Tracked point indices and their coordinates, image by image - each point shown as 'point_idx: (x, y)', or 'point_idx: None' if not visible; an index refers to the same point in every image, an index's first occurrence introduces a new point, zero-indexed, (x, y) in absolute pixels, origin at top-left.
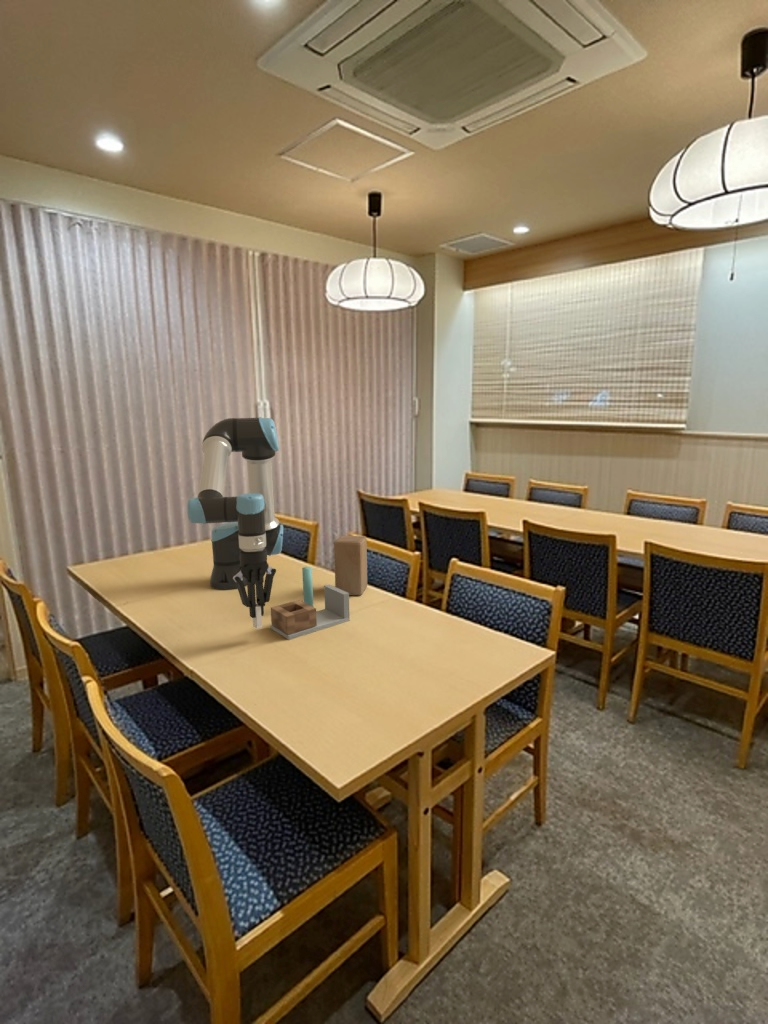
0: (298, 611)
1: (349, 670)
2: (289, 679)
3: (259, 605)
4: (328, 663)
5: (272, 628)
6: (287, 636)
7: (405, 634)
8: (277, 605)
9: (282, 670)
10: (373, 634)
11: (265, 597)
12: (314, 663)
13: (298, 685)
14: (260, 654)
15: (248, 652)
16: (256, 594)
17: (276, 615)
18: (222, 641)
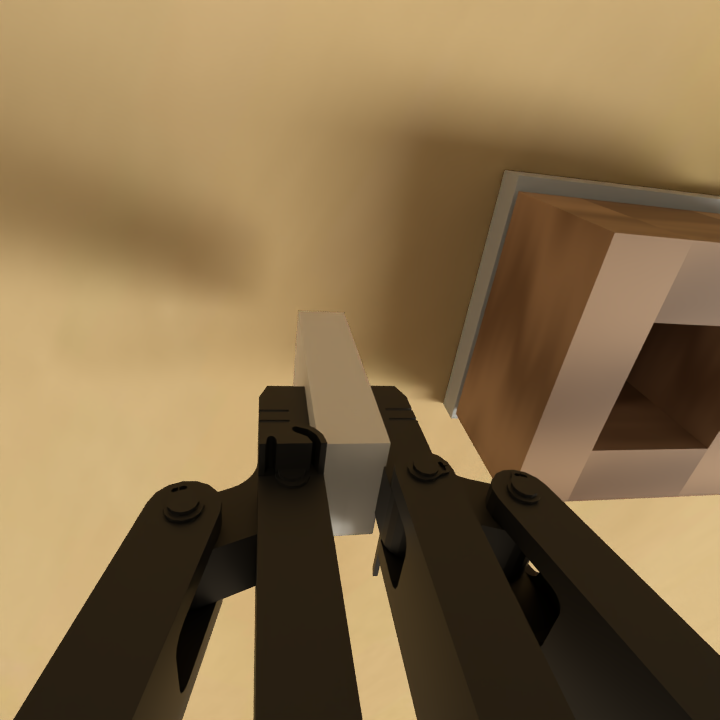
0: (632, 472)
1: (400, 678)
2: (210, 655)
3: (376, 512)
4: (389, 631)
5: (500, 198)
6: (451, 400)
7: (712, 596)
8: (691, 238)
9: (224, 605)
10: (674, 551)
11: (506, 565)
12: (355, 614)
13: (214, 686)
14: (220, 454)
15: (172, 397)
16: (429, 590)
17: (542, 327)
18: (58, 83)
